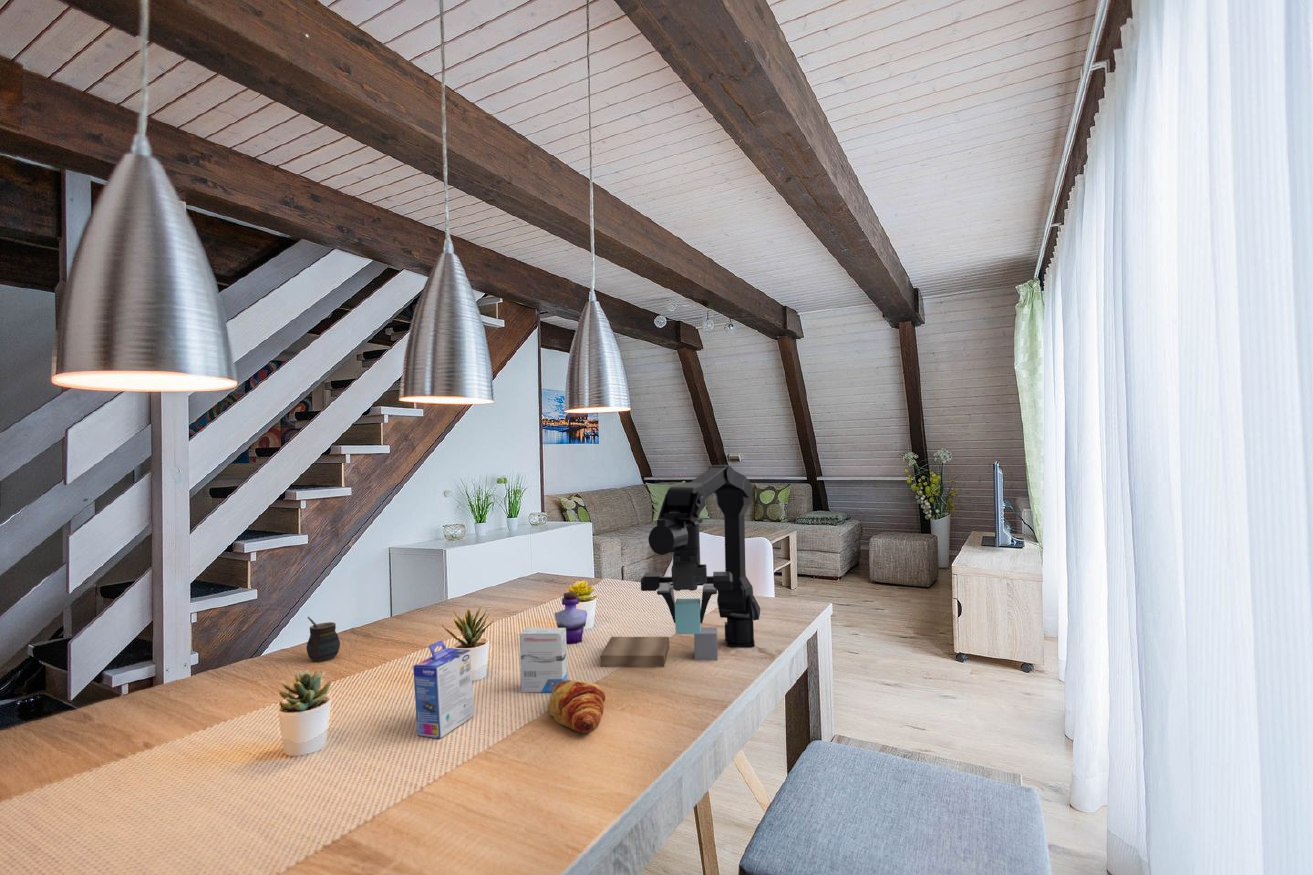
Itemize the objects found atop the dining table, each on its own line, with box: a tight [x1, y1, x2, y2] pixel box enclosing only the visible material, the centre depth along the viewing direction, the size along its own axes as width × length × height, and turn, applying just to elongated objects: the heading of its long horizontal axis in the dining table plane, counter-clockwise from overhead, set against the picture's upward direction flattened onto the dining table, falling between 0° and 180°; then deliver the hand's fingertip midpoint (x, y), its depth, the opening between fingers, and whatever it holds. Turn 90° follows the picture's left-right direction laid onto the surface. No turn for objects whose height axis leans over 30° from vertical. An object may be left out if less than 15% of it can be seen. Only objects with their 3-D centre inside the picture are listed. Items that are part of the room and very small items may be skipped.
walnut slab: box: [599, 636, 670, 668], centre depth 151 cm, size 14×14×3 cm
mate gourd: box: [306, 616, 341, 663], centre depth 157 cm, size 7×8×10 cm
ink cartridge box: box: [412, 640, 475, 739], centre depth 116 cm, size 10×6×14 cm, turn 161°
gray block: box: [693, 626, 719, 661], centre depth 150 cm, size 5×5×6 cm
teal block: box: [674, 598, 702, 635], centre depth 136 cm, size 5×5×6 cm
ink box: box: [518, 627, 568, 693], centre depth 133 cm, size 8×5×12 cm, turn 84°
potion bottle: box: [553, 591, 588, 645], centre depth 165 cm, size 9×9×12 cm
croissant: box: [547, 679, 606, 733], centre depth 119 cm, size 21×10×8 cm, turn 20°
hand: (688, 622), depth 136 cm, fingers closed on teal block, 5 cm apart
